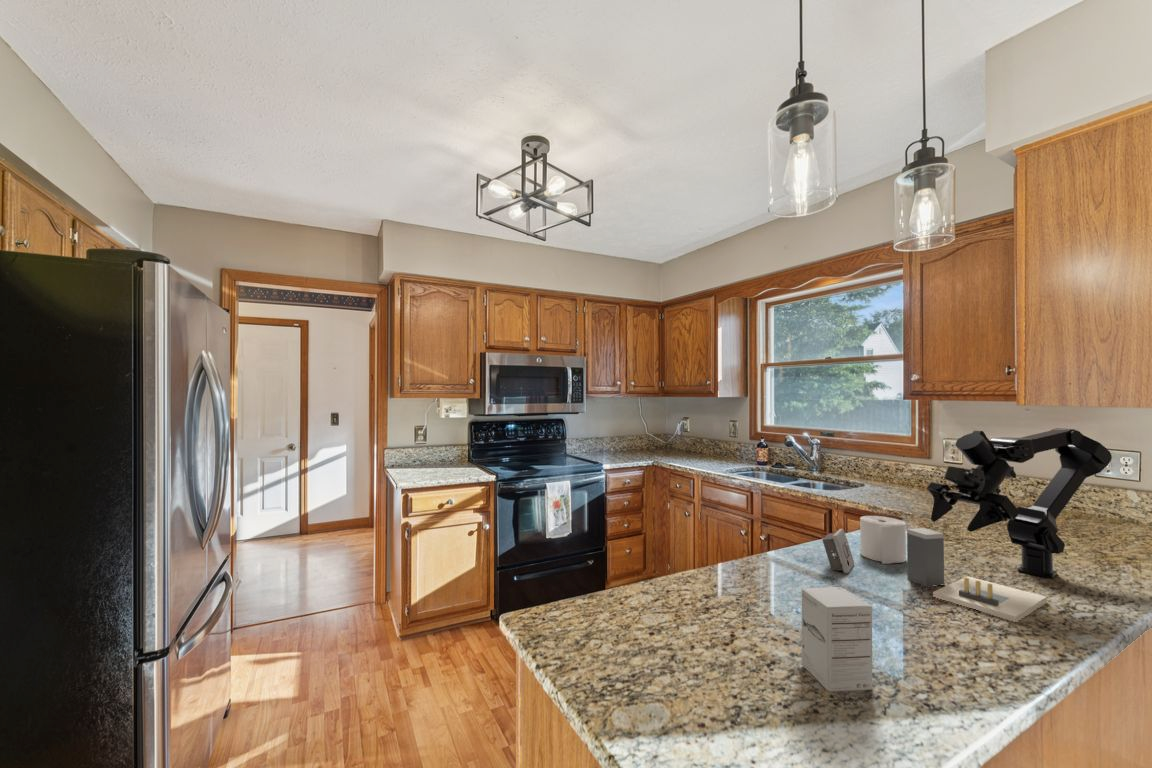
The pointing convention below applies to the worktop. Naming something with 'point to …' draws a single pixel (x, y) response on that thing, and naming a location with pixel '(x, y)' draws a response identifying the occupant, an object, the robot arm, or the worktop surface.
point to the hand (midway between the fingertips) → (949, 525)
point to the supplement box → (837, 638)
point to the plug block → (925, 556)
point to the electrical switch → (838, 551)
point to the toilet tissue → (883, 539)
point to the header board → (991, 598)
